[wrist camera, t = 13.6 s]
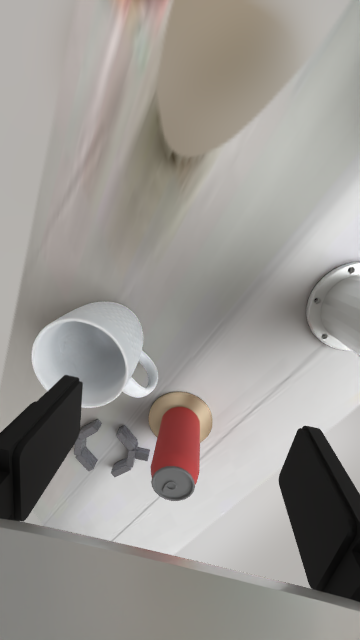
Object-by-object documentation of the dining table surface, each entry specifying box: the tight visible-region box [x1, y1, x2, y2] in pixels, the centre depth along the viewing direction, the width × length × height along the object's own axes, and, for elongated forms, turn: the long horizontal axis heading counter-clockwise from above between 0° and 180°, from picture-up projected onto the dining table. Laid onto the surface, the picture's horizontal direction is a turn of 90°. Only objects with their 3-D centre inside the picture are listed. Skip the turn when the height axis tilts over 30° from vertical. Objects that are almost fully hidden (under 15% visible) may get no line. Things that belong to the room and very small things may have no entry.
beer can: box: [151, 407, 200, 501], centre depth 38 cm, size 7×7×12 cm
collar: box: [74, 419, 150, 477], centre depth 46 cm, size 16×10×2 cm
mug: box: [31, 301, 158, 408], centre depth 34 cm, size 15×11×13 cm
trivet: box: [149, 392, 212, 442], centre depth 44 cm, size 11×11×1 cm
